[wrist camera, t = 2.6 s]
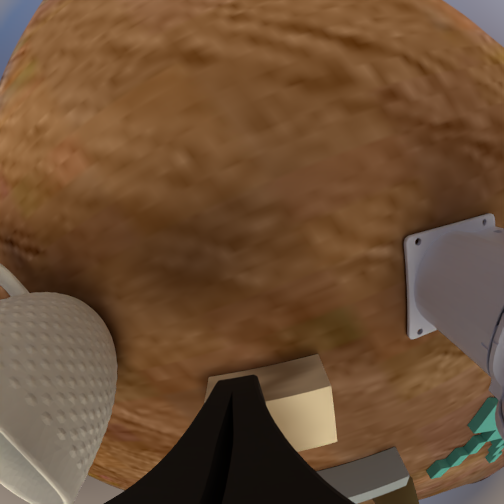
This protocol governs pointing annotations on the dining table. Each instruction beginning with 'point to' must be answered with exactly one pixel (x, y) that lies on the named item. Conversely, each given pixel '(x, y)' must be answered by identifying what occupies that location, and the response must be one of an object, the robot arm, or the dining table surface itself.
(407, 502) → the cork
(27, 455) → the mug
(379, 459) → the board
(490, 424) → the alien figure
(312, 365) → the maple block
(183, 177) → the dining table surface
